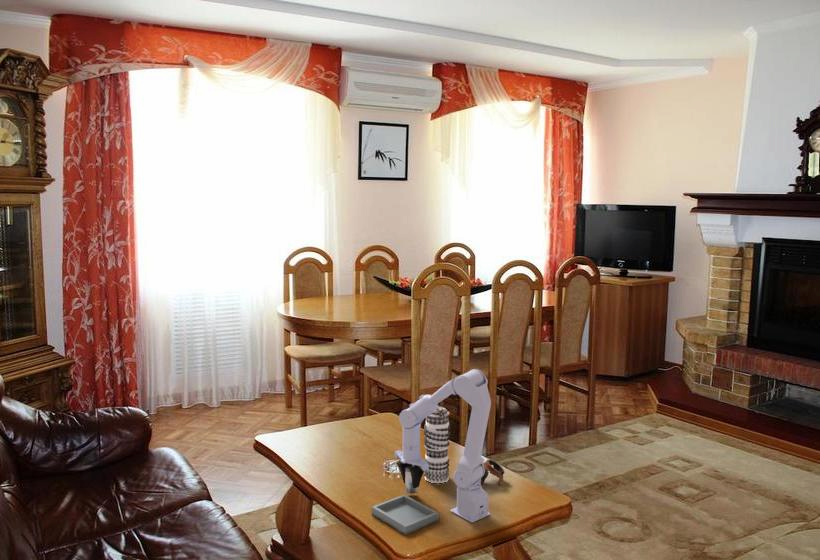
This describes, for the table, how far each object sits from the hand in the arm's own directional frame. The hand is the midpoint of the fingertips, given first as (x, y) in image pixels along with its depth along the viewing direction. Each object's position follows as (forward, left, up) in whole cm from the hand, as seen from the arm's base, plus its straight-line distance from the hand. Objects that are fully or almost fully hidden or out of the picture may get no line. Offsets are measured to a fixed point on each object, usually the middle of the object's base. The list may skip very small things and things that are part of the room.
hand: (411, 484), depth 218 cm
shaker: (0, 0, -2) cm, 2 cm away
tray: (-10, +11, -4) cm, 15 cm away
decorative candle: (+4, -15, -4) cm, 16 cm away
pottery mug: (-9, -26, -4) cm, 28 cm away
